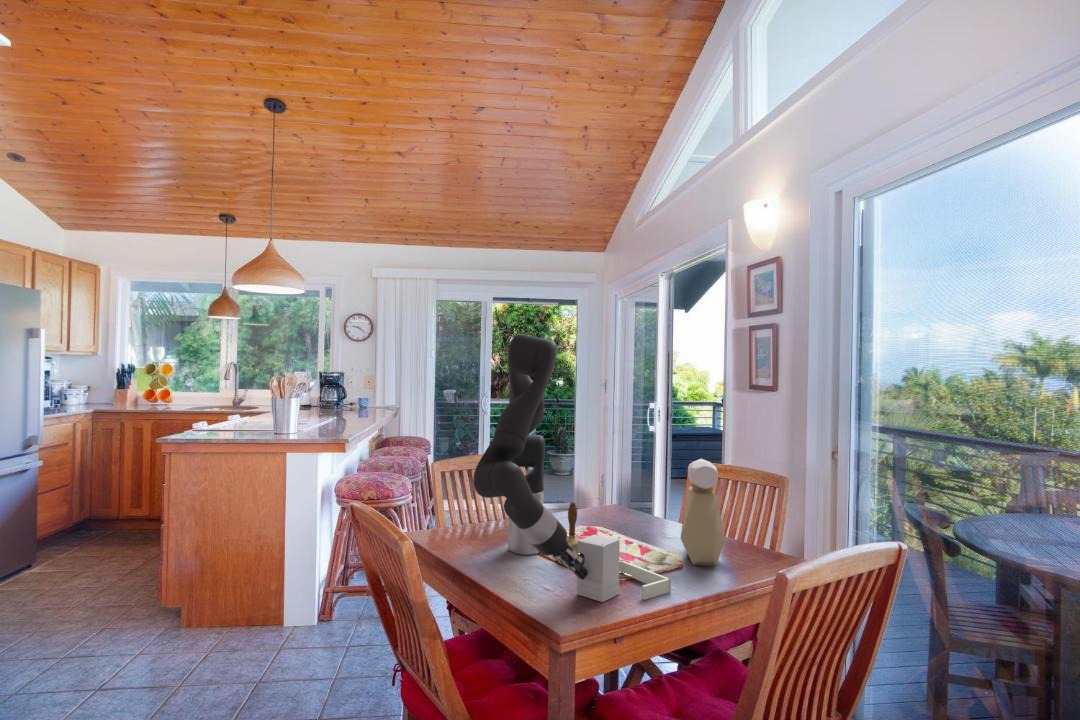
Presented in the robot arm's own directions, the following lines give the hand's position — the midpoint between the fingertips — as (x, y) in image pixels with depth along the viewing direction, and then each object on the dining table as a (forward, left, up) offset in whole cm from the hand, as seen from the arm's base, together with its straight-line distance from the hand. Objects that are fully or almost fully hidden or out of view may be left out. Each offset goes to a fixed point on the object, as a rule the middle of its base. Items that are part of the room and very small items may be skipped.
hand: (583, 575), depth 133 cm
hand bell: (-16, +22, -6) cm, 28 cm away
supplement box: (+2, +4, -5) cm, 7 cm away
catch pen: (+5, +15, -5) cm, 16 cm away
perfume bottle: (+13, +45, -5) cm, 47 cm away
